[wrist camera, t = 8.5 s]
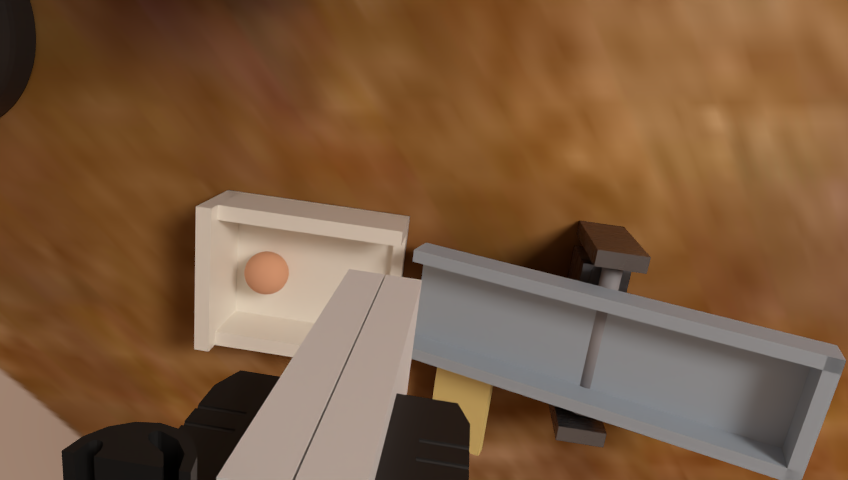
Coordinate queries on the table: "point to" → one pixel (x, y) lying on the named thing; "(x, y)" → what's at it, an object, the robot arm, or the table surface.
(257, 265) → the ball
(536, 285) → the lever
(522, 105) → the table surface
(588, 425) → the fulcrum
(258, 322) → the tray
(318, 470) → the robot arm
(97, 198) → the table surface
